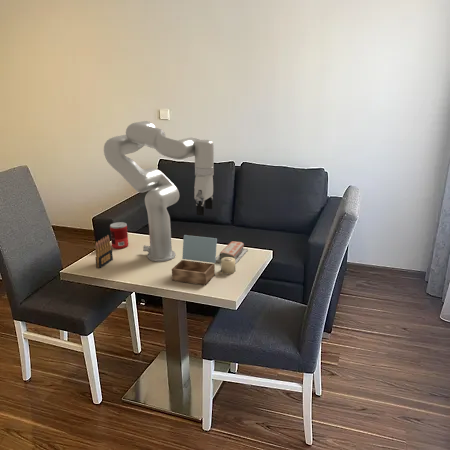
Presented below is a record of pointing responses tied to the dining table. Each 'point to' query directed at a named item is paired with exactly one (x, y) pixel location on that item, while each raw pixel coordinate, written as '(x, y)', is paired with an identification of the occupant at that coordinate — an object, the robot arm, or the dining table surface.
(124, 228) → the canned food
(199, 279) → the crate
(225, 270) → the cream bottle with knob
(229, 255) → the packaged product
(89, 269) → the dining table surface
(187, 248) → the lid
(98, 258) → the ammunition clip
